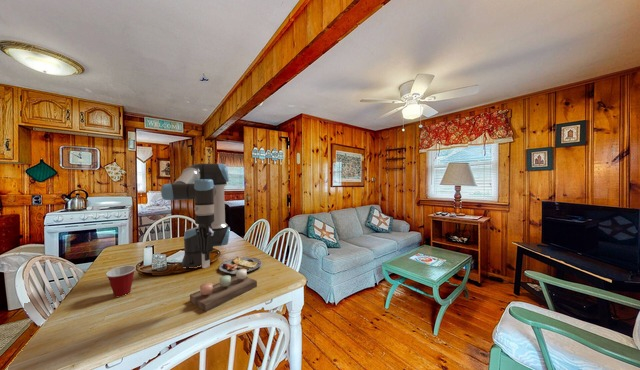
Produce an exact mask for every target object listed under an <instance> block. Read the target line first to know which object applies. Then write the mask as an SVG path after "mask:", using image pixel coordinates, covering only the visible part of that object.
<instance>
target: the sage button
mask: <svg viewBox="0 0 640 370" xmlns="http://www.w3.org/2000/svg"><path fill="white" fill-rule="evenodd" d="M231 278H232V277H231V275H227V274H226V275H223V276H220V277H219V283H220V286H228V285H230V284H231Z"/></svg>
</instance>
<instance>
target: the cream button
mask: <svg viewBox="0 0 640 370" xmlns="http://www.w3.org/2000/svg"><path fill="white" fill-rule="evenodd" d="M235 273H236V274H235V276H236V278H237V279H244V278H246V277H248V273H247V270H246V269H240V270H238V271H235Z"/></svg>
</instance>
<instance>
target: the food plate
mask: <svg viewBox="0 0 640 370" xmlns="http://www.w3.org/2000/svg"><path fill="white" fill-rule="evenodd" d="M262 264H263V261H262V260H260V259H259V258H256V257H250V256H249V257H248V256H246V257H244V256H243V257H239V256H236V257H235V258H232V259H228V260H225V261H223V262H222V263H221V264H219V266H218V270H219V271H220V272H224V273H226V274H231V275H236V271H238V270H240V269H246V270H247V272H251V271H254V270H256V269H258V268H259V267H261V266H262Z"/></svg>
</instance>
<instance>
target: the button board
mask: <svg viewBox="0 0 640 370" xmlns="http://www.w3.org/2000/svg"><path fill="white" fill-rule="evenodd" d="M257 287H258V280H257V279H256V280H255V279H253V278H251V277H249V276H247V277H246V278H244V279H237V278H236V275H234V276H232V277H231V284H230V285H228V286H220V282H217V283H215V284H213V292H211V293H210V294H207V295H201V294H200V290H198V291H196V292H193V293H191V294H189V301H190V302H191V304H194V305H195V306H196V307H198V308H199V309H200V310H202V311H204V312H205V313H207V312H209V311H211V310H213V309H215V308H217V307H219V306H221V305H224V304H225V303H227V302H229V301H231V300H233V299H235V298H237V297H238V296H239V297H240V296H241V295H243V294H245V293H247V292H249V291H251V290H253V289H255V288H257Z"/></svg>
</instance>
